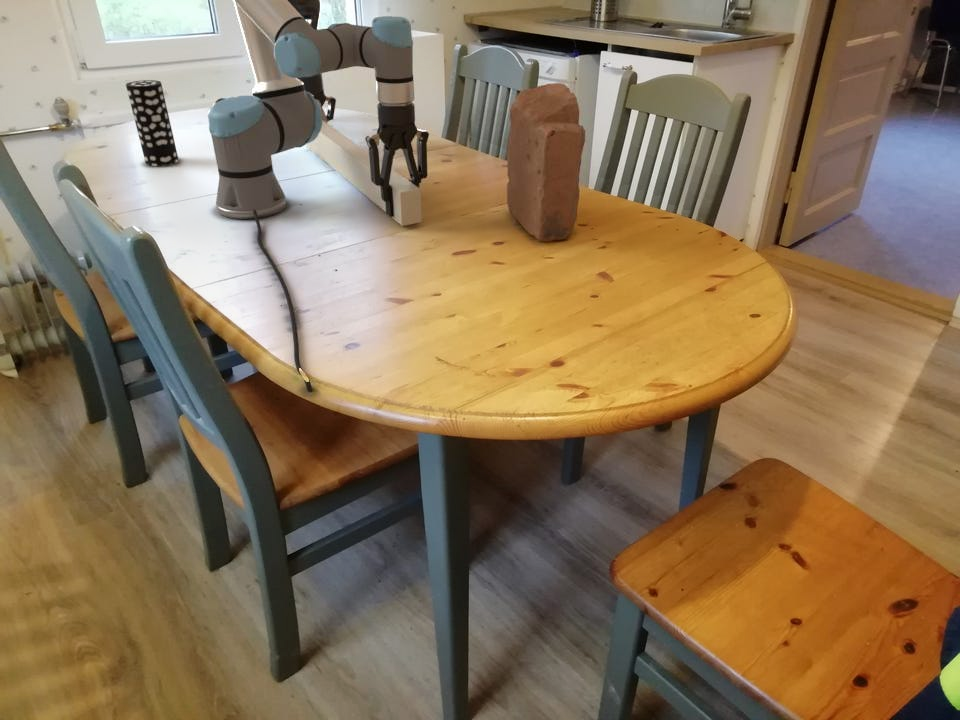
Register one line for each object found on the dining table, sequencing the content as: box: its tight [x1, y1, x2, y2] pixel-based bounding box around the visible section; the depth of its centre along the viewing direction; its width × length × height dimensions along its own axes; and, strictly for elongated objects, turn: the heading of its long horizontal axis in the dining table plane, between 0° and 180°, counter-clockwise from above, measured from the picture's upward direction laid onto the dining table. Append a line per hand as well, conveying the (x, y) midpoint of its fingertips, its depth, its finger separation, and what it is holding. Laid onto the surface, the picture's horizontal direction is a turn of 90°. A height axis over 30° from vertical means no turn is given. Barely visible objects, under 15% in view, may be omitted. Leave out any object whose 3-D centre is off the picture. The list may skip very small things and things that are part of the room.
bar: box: [304, 120, 423, 227], centre depth 173 cm, size 73×5×7 cm, turn 29°
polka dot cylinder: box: [125, 79, 179, 167], centre depth 181 cm, size 8×8×20 cm
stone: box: [506, 82, 586, 242], centre depth 144 cm, size 22×11×28 cm, turn 18°
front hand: (401, 212), depth 152 cm, fingers closed on bar, 5 cm apart
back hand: (315, 136), depth 196 cm, fingers closed on bar, 4 cm apart
